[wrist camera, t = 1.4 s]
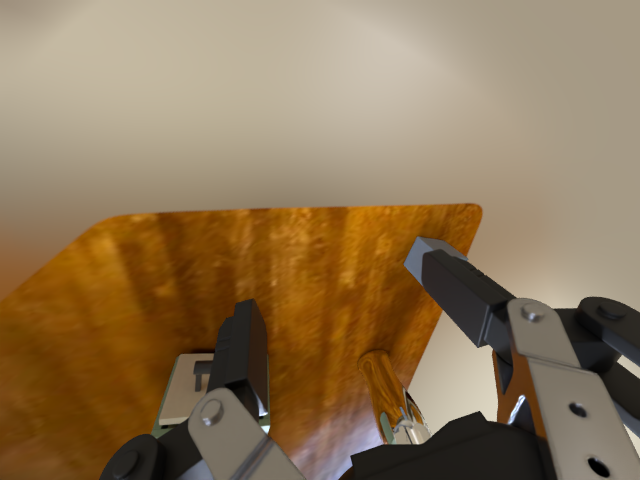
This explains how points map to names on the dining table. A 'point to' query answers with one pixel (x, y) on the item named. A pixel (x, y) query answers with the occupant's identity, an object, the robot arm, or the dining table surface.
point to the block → (426, 245)
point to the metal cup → (391, 402)
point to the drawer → (186, 388)
